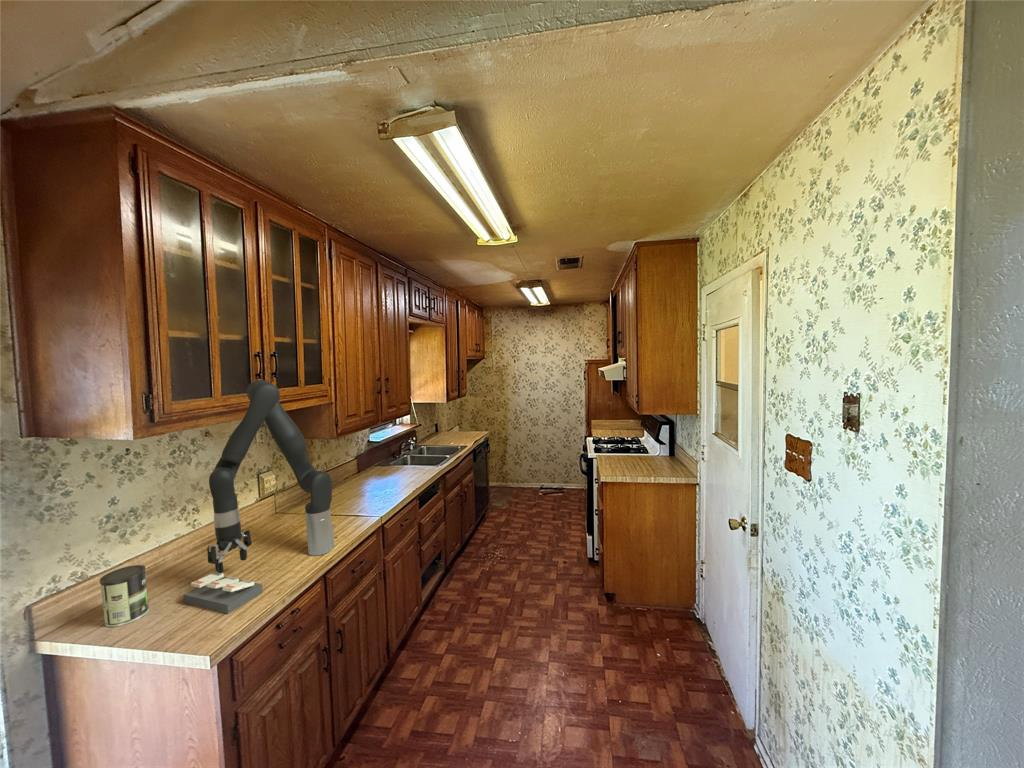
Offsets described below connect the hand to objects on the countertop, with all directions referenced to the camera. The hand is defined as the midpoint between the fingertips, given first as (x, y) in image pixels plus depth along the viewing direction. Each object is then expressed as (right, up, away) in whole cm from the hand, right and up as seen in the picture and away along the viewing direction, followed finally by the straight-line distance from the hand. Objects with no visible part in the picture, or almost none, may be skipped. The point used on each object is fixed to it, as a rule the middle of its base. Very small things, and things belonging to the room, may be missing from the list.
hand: (232, 565), depth 146 cm
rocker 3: (+11, -2, -12) cm, 16 cm away
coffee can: (-20, -8, -19) cm, 28 cm away
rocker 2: (+4, -2, -10) cm, 11 cm away
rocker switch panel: (+4, -6, -10) cm, 12 cm away
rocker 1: (-3, -2, -8) cm, 9 cm away
